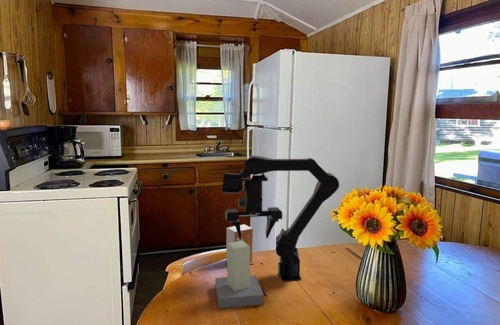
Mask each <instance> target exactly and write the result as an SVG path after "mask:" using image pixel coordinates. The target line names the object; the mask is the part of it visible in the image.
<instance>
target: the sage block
mask: <svg viewBox="0 0 500 325" xmlns="http://www.w3.org/2000/svg"><path fill="white" fill-rule="evenodd" d="M226 243H227V242H226ZM226 256H227V257H226V258H227V259H226V261H227V265H226V266H227V269H226V270H227V271H226V272H227V276H226V277H227V284H228V285H229V286H230V287H231V288H232V289H233V290H234V291H238V290H242V289H246V288H249V276H250V265H251V264H250V263H251V262H250V246H249V245H247V244H246V243H245V242H243V241H238V242H232V243H227V254H226Z"/></svg>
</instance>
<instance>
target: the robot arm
mask: <svg viewBox="0 0 500 325" xmlns="http://www.w3.org/2000/svg"><path fill="white" fill-rule="evenodd" d="M279 171H281V172H283V171H284V172H289V171H290V172H291V171H292V172H293V171H294V172H297V171H298V172H299V171H300V172H301V171H302V172H303V171H304V172H307V171H308V172H309V173H310V174H311V175H312V176H313V177H314V178H315V180H317V183H316V184H315V187H314V189H313V193H312V195H311V196H310V198H309V199H308V201H307V202H306V204H305V205H304V206H303V207H302V209H301V211H300V212H299V214H298V215H297V216H296V218H295V219H294V221H293V222H292V224H291V225H290V226H289V227H288V229H284V228H281V230H280V232H279V234H278V235H277V236H276V237H275V253H276V254H277V255H276V256H278V257H279V262H278V263H277V274H278V276H279V277H280V279H281V280H282V281H283V282H285V281H286V282H287V281H289V282H290V281H299V280H302V277H301V273H300V272H301V271H300V270H301V269H300V268H301V260H300V255H299V250H298V248H297V244H298V241H299V239H300V238H299V237H300V236H301V234H302V233H303V232H304V230H305V229H306V228H307V226H308V225H309V223H310V222H311V220H312V218H313V217H314V216H315V215H316V213H317V212H318V210H319V209H320V207H321V206H322V204H323V203H324V202H325V201H326V200H328V199H329V198H331V197H332V196H333V195H334V194H335V193H336V192H337V191H338V190H339V188H340V182H339V179H338V178H337V177H336V176H335V175H334V174H333V173H331V172H326V171H325V170H324V169H323V168H322V167H321V166H320V165H319V164H318V163H317V161H316V160H315V159H314V158H312V157H308V158H270V157H265V156H260V155H251V156H249V157H248V158H247V159H246V160H245V162H244V168H243V170H241V171H240V173H231V172H224V173H223V179H222V185H221V187H222V193H223V194H241V192H242V191H244V196H245V197H244V196H243V197H241V196H240V197H237V198H238V199H237V201H238V202H237V203H238V204H237V205H238V207H240V208H241V207H242V208H243V210H242V211H239V210H238V208H227V209H226V210H225V213H224V216H225V217H224V218H225V220H226V222H229V223H230V224H233V225H234V226H235V227H236V230H237V233H238V236H239V239H240V240H241V230H240V225H241V221H240V218H253V217H254V218H255V217H256V218H257V217H266V226H265V238H266V239H268V238H269V236H270V234H271V232H272V229H273V227H274V226H275V224H276V222H280V221H279V220H283V211H282V210H281V209H280V208H279V207H277V206H276V207H275V206H273V207H272V206H271V207H267V209H266V210H263V182H268V180H269V178H268V176H266V175H265V174H266V173H269V172H279ZM249 176H251V177H249ZM244 189H245V190H244Z"/></svg>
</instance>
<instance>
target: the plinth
mask: <svg viewBox="0 0 500 325" xmlns="http://www.w3.org/2000/svg"><path fill="white" fill-rule="evenodd" d="M214 281H215V285H214V286H215V291H216V292H215V293H216V299H217V304H218V305H217V306H218V309H228V308H229V309H230V308H238V307H239V308H240V307H242V308H243V307H249V306H250V307H252V306H262V305H264V303H265V302H264V301H265V298H264V297H265V296H264V295H265V294H264V292H263V290H262V288H261V284H260V283H259V281H258V279H257V276H256V274H254V275H249V288H246V289H242V290H238V291H234V290H233V289H232V288H231V287H230V286H229V285H228V284H227V276H226V277H225V276H224V277H216V278H215V280H214Z"/></svg>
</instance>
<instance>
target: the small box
mask: <svg viewBox="0 0 500 325" xmlns="http://www.w3.org/2000/svg"><path fill="white" fill-rule="evenodd" d="M240 230H241V240H240V239H239V236H238V233H237V230H236V227H235V225H234V226H229V227H226V248H225V249H226V252H225V253H226V257H225V258H226V260H227V243H232V242H238V241H243V242H245V243H246V244H247V245H249V246H250V263H251V262H253V249H254V248H253V244H254V242H253V241H254V240H253V238H254V235H253V233H254V232H253V231H254V228H253V227H251V226H248V225H247V224H240Z"/></svg>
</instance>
